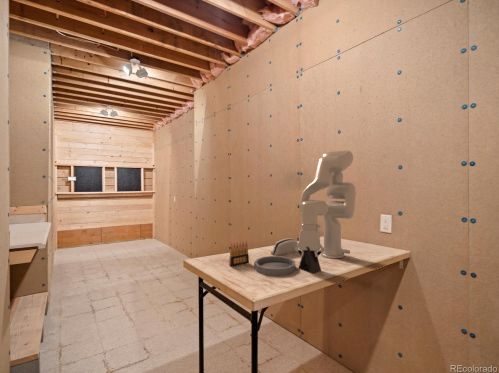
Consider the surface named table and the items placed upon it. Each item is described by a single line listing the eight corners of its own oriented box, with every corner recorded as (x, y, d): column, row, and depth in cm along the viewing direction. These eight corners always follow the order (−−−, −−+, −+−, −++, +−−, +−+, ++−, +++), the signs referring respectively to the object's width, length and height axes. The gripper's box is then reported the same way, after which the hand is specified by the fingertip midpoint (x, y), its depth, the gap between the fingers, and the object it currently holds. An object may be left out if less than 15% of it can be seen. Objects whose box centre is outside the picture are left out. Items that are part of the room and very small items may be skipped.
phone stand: (321, 270, 122) (320, 246, 122) (312, 273, 119) (312, 248, 119) (306, 265, 130) (306, 242, 130) (298, 268, 126) (298, 244, 126)
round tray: (296, 262, 135) (295, 257, 135) (293, 276, 115) (293, 270, 115) (258, 260, 139) (258, 255, 139) (250, 273, 120) (250, 267, 120)
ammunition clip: (230, 266, 130) (230, 243, 130) (229, 265, 132) (228, 242, 131) (249, 263, 135) (248, 240, 135) (247, 262, 137) (247, 240, 137)
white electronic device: (291, 249, 161) (294, 235, 158) (296, 253, 157) (299, 239, 154) (270, 253, 152) (273, 239, 149) (274, 258, 148) (278, 243, 145)
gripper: (326, 226, 126) (327, 262, 126) (292, 225, 129) (292, 260, 130) (327, 229, 118) (328, 267, 119) (291, 228, 122) (291, 265, 123)
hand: (309, 263), depth 124 cm, fingers open, 4 cm apart
